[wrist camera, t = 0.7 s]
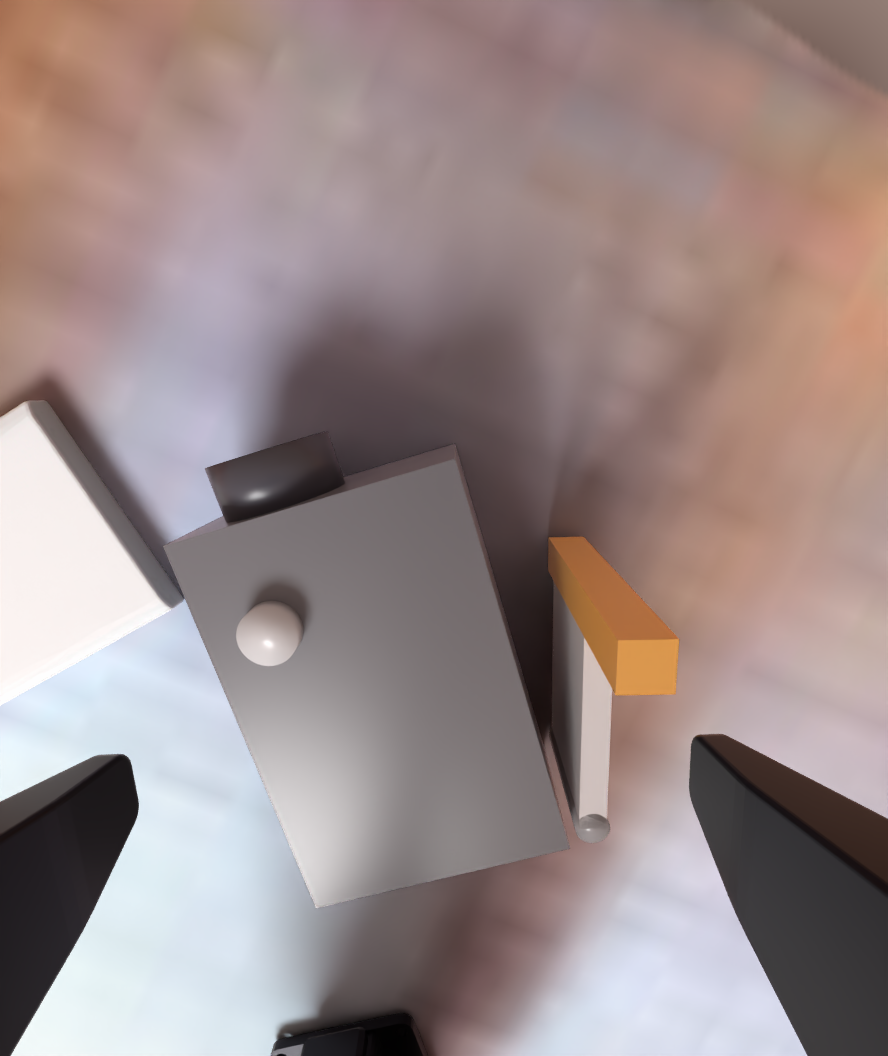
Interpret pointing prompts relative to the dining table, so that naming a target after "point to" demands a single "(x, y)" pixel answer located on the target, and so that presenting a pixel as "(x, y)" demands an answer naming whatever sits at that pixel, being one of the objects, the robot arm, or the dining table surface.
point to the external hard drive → (64, 555)
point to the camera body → (370, 667)
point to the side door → (597, 671)
